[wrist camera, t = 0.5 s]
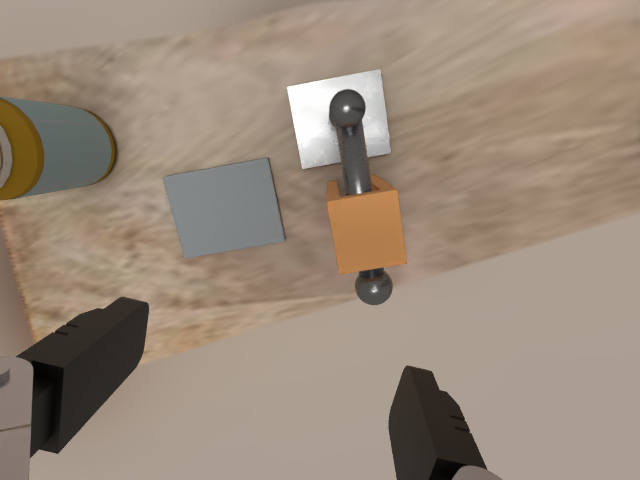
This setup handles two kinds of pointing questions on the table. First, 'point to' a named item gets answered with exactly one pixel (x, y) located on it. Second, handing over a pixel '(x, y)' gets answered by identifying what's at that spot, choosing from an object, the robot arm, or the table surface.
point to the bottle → (50, 148)
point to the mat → (225, 208)
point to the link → (366, 227)
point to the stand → (345, 143)
